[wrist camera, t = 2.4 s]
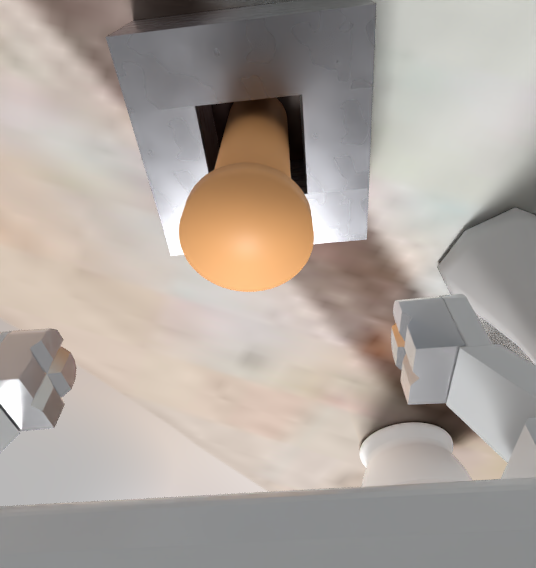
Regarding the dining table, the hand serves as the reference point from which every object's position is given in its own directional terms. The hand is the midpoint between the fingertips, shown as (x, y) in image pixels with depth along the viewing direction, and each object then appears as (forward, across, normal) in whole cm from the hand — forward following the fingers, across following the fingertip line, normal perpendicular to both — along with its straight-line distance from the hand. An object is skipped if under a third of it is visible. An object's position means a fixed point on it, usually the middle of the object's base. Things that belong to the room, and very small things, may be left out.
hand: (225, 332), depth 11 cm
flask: (+15, -14, +10) cm, 23 cm away
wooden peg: (+15, 0, 0) cm, 15 cm away
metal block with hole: (+15, 0, 0) cm, 15 cm away
